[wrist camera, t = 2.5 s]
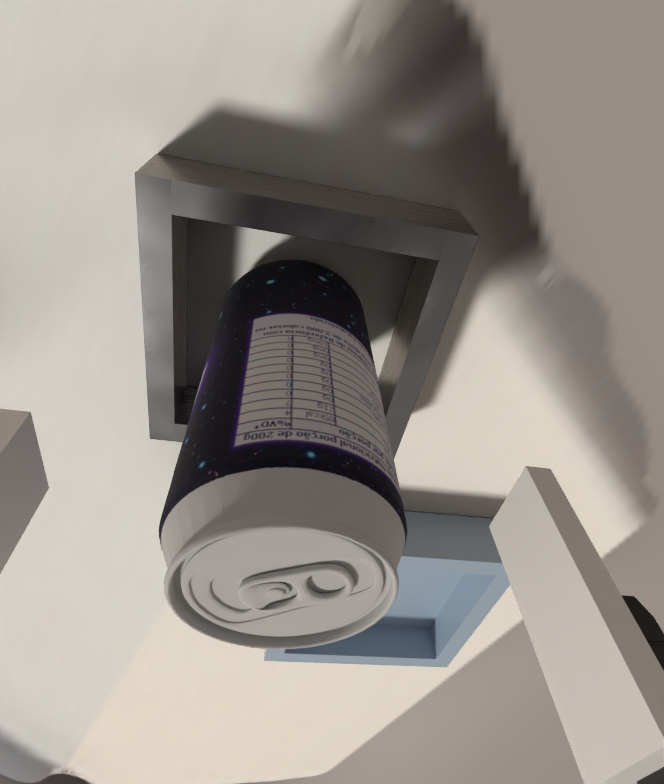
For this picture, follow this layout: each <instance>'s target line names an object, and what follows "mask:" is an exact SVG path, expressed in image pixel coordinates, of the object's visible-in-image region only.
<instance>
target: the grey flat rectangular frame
mask: <svg viewBox="0 0 664 784" xmlns="http://www.w3.org/2000/svg"><path fill="white" fill-rule="evenodd" d="M135 187H136V204H137V221H138V239H139V256H140V274H141V291H142V308H143V326H144V343H145V361H146V378H147V395H148V413H149V430H150V439H157V440H167V441H177V442H183V440H184V437H185V433H186V430H187V426H188V423H189V420H190V416H191V413H192V409H193V406H194V402H195V399H196V395H197V392H198V388H194V387H186V386H187V217H188V218H194V219H200V220H206V221H212V222H218V223H223V224H229V225H235V226H241V227H247V228H252V229H258V230H264V231H270V232H276V233H282V234H287V235H293V236H299V237H305V238H311V239H317V240H322V241H328V242H334V243H340V244H346V245H351V246H357V247H363V248H369V249H375V250H381V251H386V252H392V253H398V254H404V255H410V256H416V257H417V258H416V261H415V265H414V268H413V271H412V274H411V278H410V281H409V284H408V287H407V290H406V294H405V297H404V300H403V303H402V307H401V310H400V313H399V316H398V319H397V323H396V326H395V329H394V332H393V336H392V339H391V342H390V345H389V348H388V352H387V355H386V358H385V361H384V365H383V368H382V371H381V374H380V377H379V381H378V385H379V390H380V395H381V400H382V405H383V410H384V414H385V419H386V424H387V429H388V434H389V439H390V444H391V449H392V454H393V459H394V457H395V455H396V452H397V449H398V447H399V444H400V442H401V439H402V436H403V434H404V431H405V429H406V426H407V423H408V421H409V418H410V415H411V413H412V410H413V408H414V405H415V402H416V400H417V397H418V395H419V392H420V389H421V387H422V384H423V381H424V379H425V376H426V374H427V371H428V368H429V366H430V363H431V361H432V358H433V355H434V353H435V350H436V347H437V345H438V342H439V340H440V337H441V334H442V332H443V329H444V327H445V324H446V321H447V319H448V316H449V313H450V311H451V308H452V306H453V303H454V300H455V298H456V295H457V293H458V290H459V287H460V285H461V282H462V279H463V277H464V274H465V272H466V269H467V266H468V264H469V261H470V259H471V256H472V253H473V251H474V248H475V245H476V243H477V240H478V238H479V235H478V234H477V233H476V232H475V230H474V229H473V228H472V227H471V225H470V224H469V223H468V222H467V220H466V219H465V218H464V217H463V216H462V214H461V213H460V212H459V211H455V210H450V209H444V208H439V207H434V206H429V205H423V204H418V203H413V202H407V201H402V200H397V199H392V198H386V197H381V196H376V195H371V194H365V193H360V192H355V191H349V190H344V189H339V188H334V187H328V186H323V185H318V184H312V183H307V182H302V181H297V180H291V179H286V178H281V177H276V176H270V175H265V174H260V173H254V172H249V171H244V170H239V169H233V168H228V167H223V166H218V165H212V164H207V163H202V162H196V161H191V160H186V159H181V158H175V157H170V156H165V155H159V154H156V155H155V156H153V157H152V158H151V159H150V160H149V161H148V162H147V163H146V164H144V165H143V166H142V167H141V168H140V169H139V170H138V171H137V172H135ZM182 444H183V443H182ZM181 447H182V446H181ZM180 451H181V450H180ZM179 454H180V453H179ZM178 458H179V457H178ZM177 461H178V460H177ZM176 465H177V464H176ZM175 468H176V467H175ZM174 472H175V471H174Z"/></svg>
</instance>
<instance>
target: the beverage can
mask: <svg viewBox="0 0 664 784" xmlns="http://www.w3.org/2000/svg"><path fill="white" fill-rule="evenodd" d="M159 538H160V544H161V548H162V551H163V554H164V558H165V561H166V564H167V567H168V570H167V572H166V576H165V581H164V590H165V596H166V599H167V602H168V604H169V605H170V607H171V609H172V610H173V612H174V613H175V614H176V615H177V616H178V617H179V618H180V619H181V620H182V621H183V622H184V623H186V624H187V625H189V626H190V627H191V628H193V629H195V630H197V631H198V632H200V633H202V634H204V635H207V636H209V637H212V638H214V639H217V640H220V641H223V642H227V643H231V644H235V645H240V646H245V647H252V648H261V649H297V648H306V647H314V646H319V645H324V644H328V643H332V642H336V641H339V640H342V639H345V638H348V637H351V636H353V635H355V634H357V633H359V632H362V631H364V630H365V629H367V628H369V627H370V626H372V625H373V624H375V623H376V622H377V621H379V620H380V619H381V618H382V617H383V616H384V615H385V614H386V613H387V612H388V611H389V609H390V608H391V607H392V605H393V603H394V601H395V599H396V597H397V593H398V589H399V577H398V573H397V567H398V564H399V561H400V559H401V556H402V554H403V551H404V548H405V544H406V540H407V523H406V517H405V513H404V508H403V503H402V498H401V493H400V488H399V483H398V478H397V473H396V468H395V463H394V459H393V454H392V449H391V444H390V439H389V434H388V429H387V424H386V419H385V414H384V410H383V405H382V400H381V395H380V390H379V385H378V380H377V375H376V370H375V365H374V360H373V356H372V351H371V346H370V341H369V336H368V331H367V326H366V321H365V316H364V312H363V308H362V305H361V302H360V300H359V298H358V296H357V295H356V293H355V292H354V290H353V289H352V288H351V286H350V285H349V284H348V283H347V282H346V281H345V280H344V279H343V278H341V277H340V276H339V275H337V274H336V273H334V272H333V271H331V270H329V269H327V268H325V267H323V266H321V265H318V264H315V263H311V262H307V261H300V260H281V261H275V262H270V263H267V264H264V265H261V266H259V267H257V268H255V269H253V270H251V271H249V272H248V273H246V274H245V275H244V276H242V277H241V278H240V279H239V280H238V281H237V282H236V283H235V284H234V285H233V286H232V288H231V289H230V291H229V292H228V294H227V296H226V298H225V300H224V302H223V305H222V309H221V312H220V316H219V319H218V322H217V326H216V329H215V333H214V336H213V340H212V343H211V347H210V350H209V354H208V357H207V361H206V364H205V368H204V371H203V374H202V378H201V381H200V385H199V388H198V392H197V395H196V399H195V402H194V406H193V409H192V413H191V416H190V420H189V423H188V426H187V430H186V433H185V437H184V440H183V444H182V447H181V451H180V454H179V458H178V461H177V465H176V468H175V472H174V475H173V478H172V482H171V485H170V489H169V492H168V496H167V499H166V503H165V506H164V510H163V513H162V517H161V520H160V525H159Z"/></svg>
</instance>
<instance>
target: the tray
mask: <svg viewBox="0 0 664 784" xmlns="http://www.w3.org/2000/svg"><path fill="white" fill-rule="evenodd" d="M404 513H405V517H406V523H407V540H406V544H405V548H404V551H403V554H402V556H401V559H400V561H399V564H398V567H397V573H398V577H399V589H398V593H397V597H396V599H395V601H394V603H393V605H392V607H391V608H390V609H389V611H388V612H387V613H386V614H385V615H384V616H383V617H382V618H381V619H380V620H379V621H377V622H376V623H375V624H373V625H372V626H370V627H369V628H367V629H365V630H364V631H362V632H359V633H357V634H355V635H353V636H351V637H348V638H345V639H342V640H339V641H336V642H332V643H328V644H324V645H319V646H314V647H306V648H297V649H265V656H264V661H286V662H314V663H343V664H371V665H399V666H427V667H447V666H448V665H449V664H450V662H451V661H452V660H453V658H454V657H455V656H456V654H457V653H458V652H459V651H460V649H461V648H462V647H463V645H464V644H465V643H466V641H467V640H468V639H469V638H470V636H471V635H472V634H473V632H474V631H475V630H476V628H477V627H478V626H479V625H480V623H481V622H482V621H483V619H484V618H485V617H486V615H487V614H488V613H489V611H490V610H491V609H492V608H493V606H494V605H495V604H496V602H497V601H498V600H499V598H500V597H501V596H502V595H503V593H504V592H505V591H506V589H507V588H508V587H509V585H510V582H509V579H508V577H507V574H506V571H505V568H504V566H503V563H502V560H501V558H500V555H499V552H498V550H497V547H496V544H495V541H494V539H493V536H492V533H491V531H490V528H489V526H490V524H491V522H492V521H493V519H491V518H480V517H468V516H457V515H445V514H434V513H422V512H411V511H404Z"/></svg>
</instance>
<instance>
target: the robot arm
mask: <svg viewBox="0 0 664 784" xmlns="http://www.w3.org/2000/svg"><path fill="white" fill-rule="evenodd" d="M48 488H49V486H48V482H47V478H46V474H45V470H44V466H43V461H42V457H41V453H40V449H39V445H38V441H37V437H36V433H35V428H34V424H33V420H32V416H31V412H26V411H16V410H7V409H0V573H1V571H2V570H3V568H4V566H5V564H6V563H7V561H8V559H9V557H10V556H11V554H12V552H13V550H14V548H15V547H16V545H17V543H18V541H19V540H20V538H21V536H22V534H23V533H24V531H25V529H26V527H27V526H28V524H29V522H30V520H31V518H32V517H33V515H34V513H35V511H36V510H37V508H38V506H39V504H40V503H41V501H42V499H43V497H44V495H45V494H46V492H47V490H48ZM489 528H490V531H491V533H492V536H493V539H494V541H495V544H496V547H497V550H498V552H499V555H500V558H501V560H502V563H503V566H504V568H505V571H506V574H507V577H508V579H509V582H510V585H511V587H512V590H513V593H514V595H515V598H516V601H517V603H518V606H519V609H520V612H521V614H522V617H523V620H524V622H525V625H526V628H527V630H528V633H529V636H530V638H531V641H532V644H533V647H534V649H535V652H536V654H537V657H538V660H539V663H540V665H541V668H542V671H543V674H544V676H545V679H546V682H547V684H548V687H549V690H550V692H551V695H552V698H553V700H554V703H555V706H556V708H557V711H558V714H559V717H560V719H561V722H562V725H563V727H564V730H565V733H566V736H567V738H568V741H569V744H570V746H571V749H572V752H573V754H574V757H575V759H576V762H577V765H578V768H579V771H580V773H581V776H582V779H583V781H584V784H635V783H638V784H664V634H663V632H662V630H661V629H660V627H659V625H658V623H657V622H656V620H655V619H654V617H653V616H652V615H651V614H650V613H649V612H648V611H647V610H646V609H645V607H643V605H642V604H641V603H640V602H639V601H638V600H637V599H636V598H635V597H634V596H621V594H620V592H619V590H618V589H617V587H616V585H615V583H614V581H613V580H612V578H611V576H610V574H609V573H608V571H607V569H606V567H605V565H604V564H603V562H602V560H601V558H600V556H599V555H598V553H597V551H596V549H595V548H594V546H593V544H592V542H591V540H590V539H589V537H588V535H587V533H586V531H585V530H584V528H583V526H582V524H581V523H580V521H579V519H578V517H577V515H576V514H575V512H574V510H573V508H572V507H571V505H570V503H569V501H568V499H567V498H566V496H565V494H564V492H563V490H562V489H561V487H560V485H559V483H558V482H557V480H556V478H555V476H554V474H553V473H552V471H551V469H547V468H538V467H529V466H526V467H525V468H524V470H523V472H522V473H521V475H520V477H519V478H518V480H517V481H516V483H515V485H514V486H513V488H512V490H511V491H510V493H509V494H508V496H507V498H506V499H505V501H504V503H503V504H502V506H501V508H500V509H499V511H498V512H497V514H496V516H495V517H494V519H493V521H492V522H491V524H490V526H489Z"/></svg>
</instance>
